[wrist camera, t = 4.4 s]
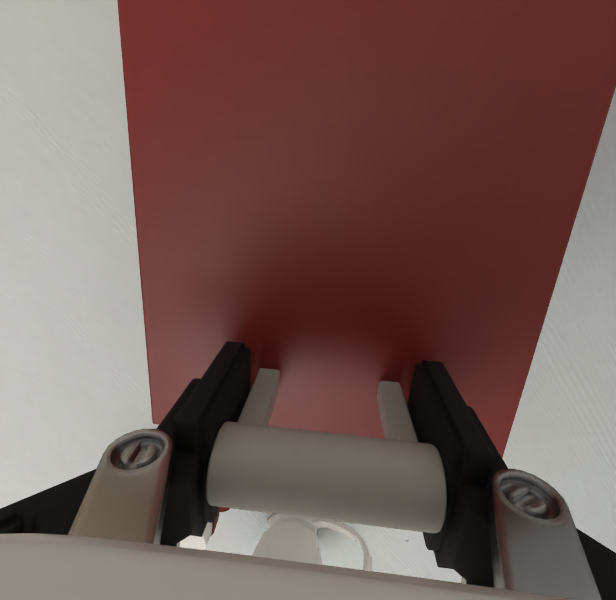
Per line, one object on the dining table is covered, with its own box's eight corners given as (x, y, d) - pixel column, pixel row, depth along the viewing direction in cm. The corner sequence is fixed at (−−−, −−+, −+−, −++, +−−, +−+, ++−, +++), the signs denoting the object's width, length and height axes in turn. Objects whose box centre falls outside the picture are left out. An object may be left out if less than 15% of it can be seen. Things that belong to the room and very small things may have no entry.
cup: (236, 508, 29) (200, 626, 21) (348, 475, 27) (352, 593, 19) (273, 565, 31) (253, 692, 23) (381, 538, 29) (397, 668, 21)
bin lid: (491, 447, 13) (598, 628, 8) (162, 411, 14) (51, 554, 8) (632, -36, 8) (1130, -408, 3) (128, -57, 9) (-161, -391, 4)
